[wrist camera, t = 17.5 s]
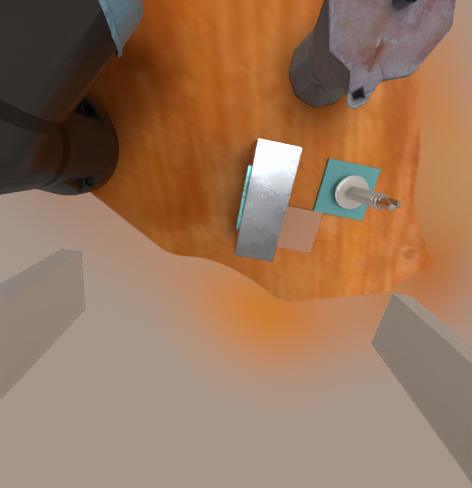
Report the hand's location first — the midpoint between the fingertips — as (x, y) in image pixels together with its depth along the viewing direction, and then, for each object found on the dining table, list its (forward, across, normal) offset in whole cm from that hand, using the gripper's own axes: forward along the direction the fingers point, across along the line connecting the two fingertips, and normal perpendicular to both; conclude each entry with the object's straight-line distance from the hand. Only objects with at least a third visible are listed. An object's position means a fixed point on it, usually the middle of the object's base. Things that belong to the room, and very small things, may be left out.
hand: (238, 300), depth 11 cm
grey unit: (+30, +4, 0) cm, 31 cm away
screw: (+30, +17, +3) cm, 34 cm away
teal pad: (+30, +17, +3) cm, 35 cm away
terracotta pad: (+30, +11, -4) cm, 32 cm away
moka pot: (+31, +9, +18) cm, 37 cm away
